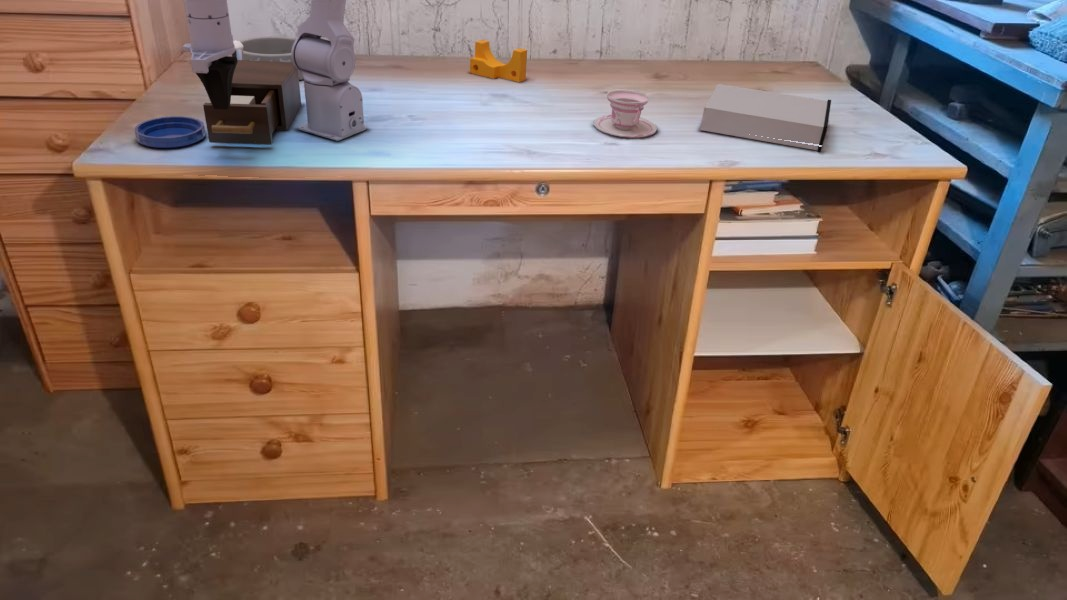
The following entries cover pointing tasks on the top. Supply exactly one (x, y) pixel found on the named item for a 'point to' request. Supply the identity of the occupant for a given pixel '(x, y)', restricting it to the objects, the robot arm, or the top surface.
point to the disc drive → (766, 116)
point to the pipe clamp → (498, 63)
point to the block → (242, 100)
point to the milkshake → (238, 50)
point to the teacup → (626, 115)
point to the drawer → (245, 118)
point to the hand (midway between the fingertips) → (221, 107)
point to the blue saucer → (170, 132)
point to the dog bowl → (269, 49)
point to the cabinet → (272, 84)
